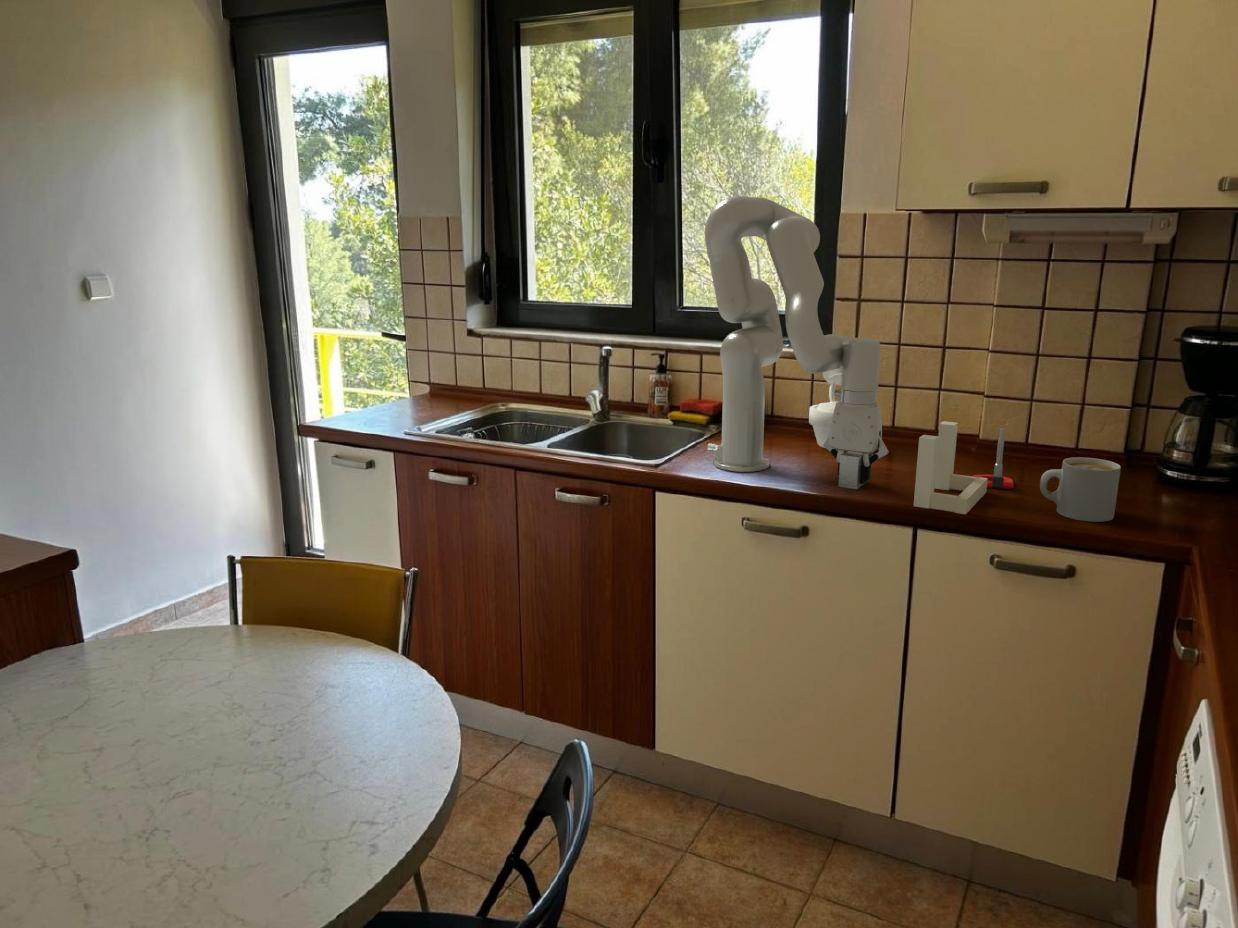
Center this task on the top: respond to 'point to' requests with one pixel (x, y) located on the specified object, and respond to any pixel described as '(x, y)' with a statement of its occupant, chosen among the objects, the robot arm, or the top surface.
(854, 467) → the grey upright block
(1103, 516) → the coffee mug
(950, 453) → the white open frame stand
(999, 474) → the grey red t-shaped piece
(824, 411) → the potted plant
